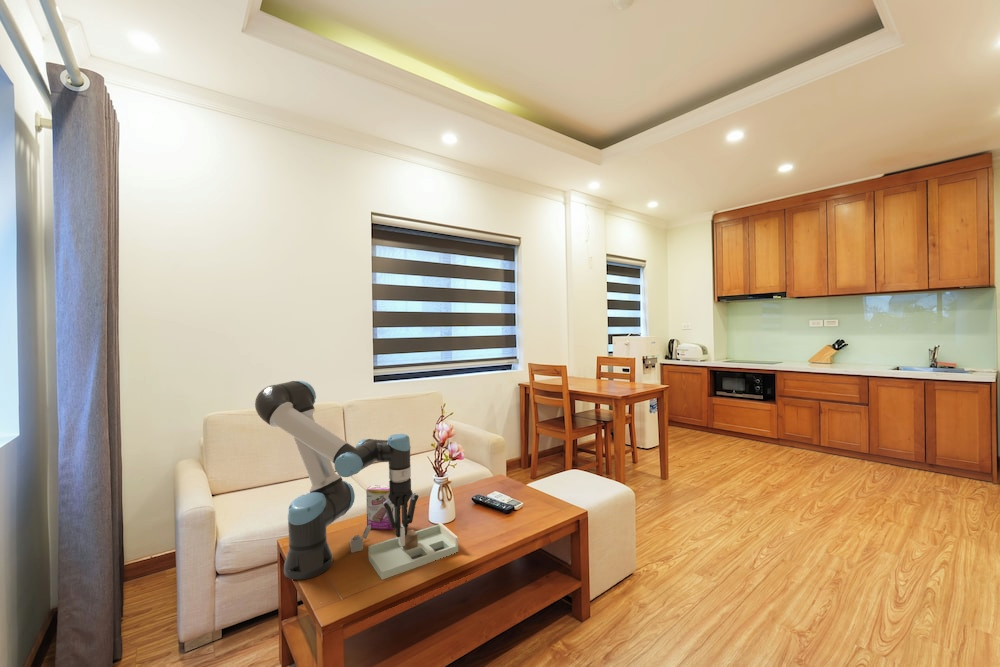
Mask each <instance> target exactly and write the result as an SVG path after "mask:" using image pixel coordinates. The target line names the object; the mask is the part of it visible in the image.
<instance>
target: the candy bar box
mask: <svg viewBox="0 0 1000 667" xmlns="http://www.w3.org/2000/svg"><path fill="white" fill-rule="evenodd" d="M365 492H366V526H370V527H371V529H370V530H385V531H387V530H388V531H391V530H392V531H393V530H394V529H395V528H392V527H391V526H390V523H389V519H388V516H387V512H386V509H385V507H384V505H383V504H382V502H383V501H386V500H387V499H388V496H389V494H390V491H389V485H381V484H380V485H377V484H375V485H373V484H370V485H369V487H367V489H366V491H365ZM390 508H391V511H392V515H393V518H394V522H395V508H394V504H393V503H392V502H391V501H390Z"/></svg>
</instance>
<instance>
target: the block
mask: <svg viewBox="0 0 1000 667" xmlns="http://www.w3.org/2000/svg"><path fill="white" fill-rule="evenodd" d="M402 547H403V548H404V549H405V550H409V549H412V548H415V547H418V539H417V533H416V532H415V530H414V529H413V528H412V529H409V530H407V535H405V546H402Z"/></svg>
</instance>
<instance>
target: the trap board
mask: <svg viewBox="0 0 1000 667" xmlns="http://www.w3.org/2000/svg"><path fill="white" fill-rule="evenodd" d="M414 531H415V530H414ZM415 532H416V533H417V539H418V547H415V548H412V549H409V550H405V549H404V548H403V547H401V546H400V545H399V544H398V537H397V536H396V537H392V538H391V539H387V540H384V541H380V542H377V543H374V544H370V545H368V548H367V549H368V550H367V551H368V561H369V563H370V564H371V566H372V567H373V569H374V570H375V572H376V573H377V575H378V576H379V578H380V579H381V580H382V581H383V580H386V579H388V578H391V577H393V576H396V575H400V574H402V573H404V572H408V571H410V570H413V569H416V568H419V567H422V566H425V565H427V564H429V563H433V562H435V560H436V561H438V560H441V559H444V558H446V556H447V557H448V556H452V555H454V553H455V554H457V553H456V552H458V553H459V537H458V536H457V535H456V534H455V533H454V532H453V531H451V530H450V529H449V528H448V527H447V526H446V525H444V524H443V523H442V522H438V523H437V524H436V525H432V526H429V527H426V528H425V527H424V528H422V529H419V530H416V531H415ZM451 554H452V555H451ZM443 557H444V558H443ZM440 558H441V559H440Z"/></svg>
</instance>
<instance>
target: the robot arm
mask: <svg viewBox="0 0 1000 667" xmlns="http://www.w3.org/2000/svg"><path fill="white" fill-rule="evenodd" d="M316 399H317V394H316V391H315V389H314V387H313V386H312V385H311V384H310V383H308V382H306V381H303V380H291V381H288V382H282V383H278V384H271V385H269V386H266V387H264V388H263V389H261V390H260V391H259V392H258V394H257V395H256V398H255V401H254V402H255V403H254V406H255V411H256V413H257V415H258V416H259V417H260V418H261V420H262V421H263V422H265V423H266V424H268V425H269V426H270V427H272V428H276V427H278V428H280V429H281V430H283V431H284V432H286V433H287V434H289V435H290V436H292V437H293V439H294V441H295V444H296V447H297V450H298V452H299V455H300V457H301V460H302V461H303V464H304V467H305V470H306V473H307V475H308V477H309V478H308V479H309V480H310V483H311V487H310V489H309V492H306V494H302V495H299V496H298V497H296V498H294V500H292V502H291V503H290V504H289V506H288V513H287V520H288V521H287V522H288V551H287V555H286V558H285V559H284V560H285V561H284V564H283V574H284V577H285V578H288V579H290V580H295V581H296V580H298V581H299V580H307V579H311V578H315V577H317V576H320V575H321V574H323V573H325V572H327V571H328V570H329V569H330V568H331V567H332V565H333V553H332V551H331V547H330V546H329V543H328V540H327V527H328V526H329V525H331V524H332V523H334V522H336V520H339V518H341V517H343V516H344V515H346V514H347V513H348V512H349V510H351V508H352V507H353V505H354V502H355V498H356V494H355V490H354V487H353V486H352V484H351V483H349V482H348V481H346V480H343V478H349V477H353V476H354V475H357V474H358V473H359V472H360V471H362V470H364V469H365V468H367V467H369V466H371V465H373V464H374V463H375V462H379V463H388V480H389V482H388V484H389V485H388V486H389V491H390V494H389V496H388V499H387V500H386V501H383V502H382V504H383V505H384V507H385V509H386V512H387V516H388V519H389V523H390V526H391V527H392V528H394V529H395V536H396V537H398V544H399V545H400V546H401V547H402V546H405V535H407V531H408V527H409V524H412V523H413V521H414V516H415V515H414V514H415V510H416V506H417V505H416V504H417V501H418V499H419V495H418V494H417V493H415V492H413V489H412V478H411V476H412V471H411V470H412V469H411V468H412V467H411V447H412V446H411V443H410V442H411V441H410V439H411V438H410V436H409V435H408V434H405V433H396V434H392V435H389V436H388V437H387V440H386V439H373V438H365V439H364V438H362V439H360V440H359V441H358V443H357V444H356V446H353V445H351V444H350V443H348V442H347V441H345V439H342V438H340V437H339V436H337V435H336V434H334V433H332V432H331V431H329V430H328V429H326V428H325V427H323V426H322V425H320V424H319V423H317V422H316V421H315V419H314V418H315V417H314V416H313V415H314V412H315V410H316V409H315V406H314V405H315V403H316ZM332 463H333V464H334V467H333V464H332ZM335 471H336V472H335ZM336 473H337V474H336ZM390 501H391V502H392V503H393V504H394V508H395V522H394V518H393V515H392V511H391V508H390ZM408 503H409V505H408Z"/></svg>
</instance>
